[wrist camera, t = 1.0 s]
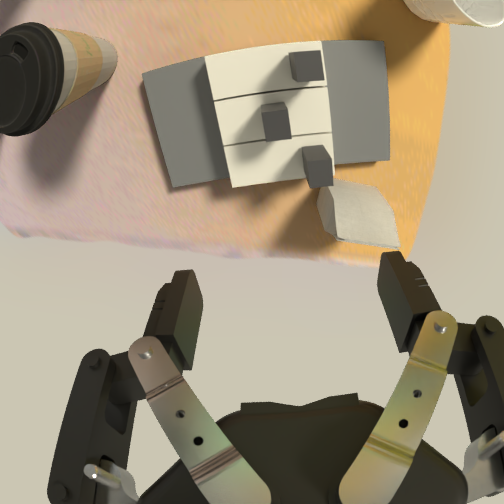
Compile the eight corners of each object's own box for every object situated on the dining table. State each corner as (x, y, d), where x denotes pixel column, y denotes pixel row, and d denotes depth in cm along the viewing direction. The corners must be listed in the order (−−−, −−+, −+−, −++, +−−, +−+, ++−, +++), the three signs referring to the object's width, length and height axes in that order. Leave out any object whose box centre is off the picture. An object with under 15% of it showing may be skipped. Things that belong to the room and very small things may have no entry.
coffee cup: (141, 27, 24) (60, 19, 12) (122, 107, 29) (42, 151, 17) (70, 23, 22) (-24, 29, 10) (56, 97, 27) (-32, 137, 15)
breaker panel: (148, 72, 27) (109, 81, 19) (376, 41, 24) (417, 40, 16) (177, 180, 34) (154, 221, 27) (383, 154, 32) (417, 188, 24)
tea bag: (323, 176, 34) (343, 220, 26) (375, 186, 34) (407, 232, 26) (316, 204, 36) (331, 254, 28) (367, 212, 36) (393, 262, 28)
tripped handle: (260, 104, 24) (261, 112, 21) (283, 101, 24) (287, 109, 21) (265, 130, 26) (266, 142, 23) (287, 127, 26) (291, 138, 22)
